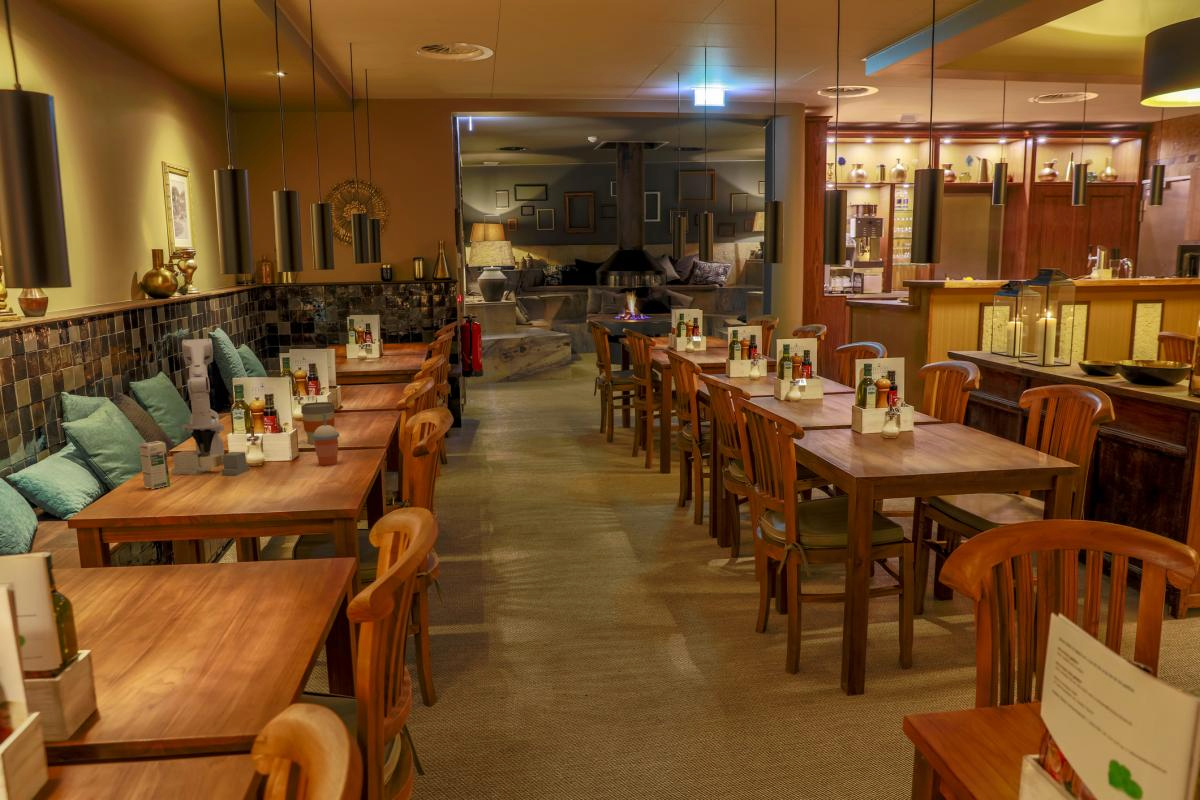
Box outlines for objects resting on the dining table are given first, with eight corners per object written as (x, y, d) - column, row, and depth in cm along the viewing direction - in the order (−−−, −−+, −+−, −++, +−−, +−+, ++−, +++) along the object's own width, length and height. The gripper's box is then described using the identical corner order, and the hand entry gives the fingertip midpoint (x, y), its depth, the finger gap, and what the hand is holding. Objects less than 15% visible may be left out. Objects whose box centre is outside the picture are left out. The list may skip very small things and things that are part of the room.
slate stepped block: (222, 475, 295) (220, 456, 293) (235, 469, 302) (234, 450, 301) (235, 475, 294) (233, 456, 293) (249, 469, 301) (247, 451, 300)
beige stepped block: (172, 474, 298) (170, 455, 297) (187, 468, 306) (185, 450, 304) (196, 474, 296) (194, 455, 295) (210, 469, 304) (209, 450, 303)
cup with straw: (336, 466, 303) (332, 415, 301) (310, 466, 304) (306, 415, 301) (344, 460, 312) (341, 410, 310) (319, 460, 313) (315, 411, 310)
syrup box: (152, 490, 277) (147, 445, 275) (143, 487, 281) (138, 443, 278) (170, 486, 282) (166, 442, 279) (161, 483, 285) (156, 440, 283)
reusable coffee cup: (304, 440, 350) (301, 403, 347) (336, 437, 353) (334, 401, 351) (303, 446, 338) (300, 408, 336) (337, 443, 342) (334, 405, 339)
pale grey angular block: (179, 466, 299) (177, 443, 298) (186, 463, 303) (183, 441, 301) (216, 467, 297) (214, 444, 296) (223, 464, 300) (220, 441, 299)
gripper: (174, 414, 294) (178, 453, 296) (213, 414, 291) (217, 454, 294) (187, 410, 301) (191, 449, 303) (226, 410, 298) (229, 449, 300)
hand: (205, 451), depth 299 cm, fingers closed on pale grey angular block
